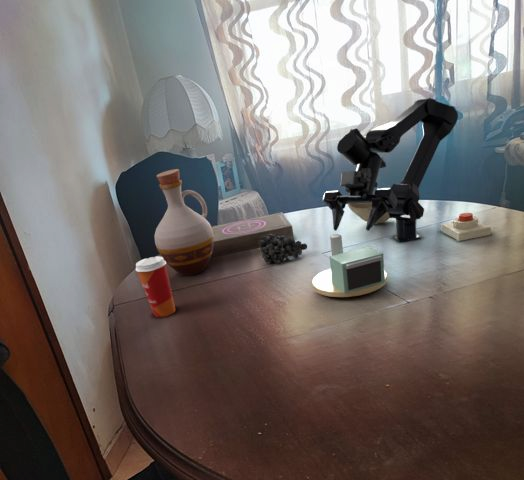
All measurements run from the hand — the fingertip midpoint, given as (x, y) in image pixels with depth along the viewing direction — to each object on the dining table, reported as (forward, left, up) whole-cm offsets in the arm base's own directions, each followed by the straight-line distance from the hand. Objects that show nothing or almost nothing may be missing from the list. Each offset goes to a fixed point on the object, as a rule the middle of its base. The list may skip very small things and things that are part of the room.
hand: (350, 229), depth 119 cm
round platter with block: (+11, -4, -9) cm, 15 cm away
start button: (-11, +36, -7) cm, 38 cm away
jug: (-27, -44, -11) cm, 53 cm away
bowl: (-39, +19, -11) cm, 44 cm away
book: (-48, -26, -11) cm, 56 cm away
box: (-11, +36, -11) cm, 39 cm away
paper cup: (+4, -51, -11) cm, 53 cm away
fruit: (-19, -16, -11) cm, 27 cm away
